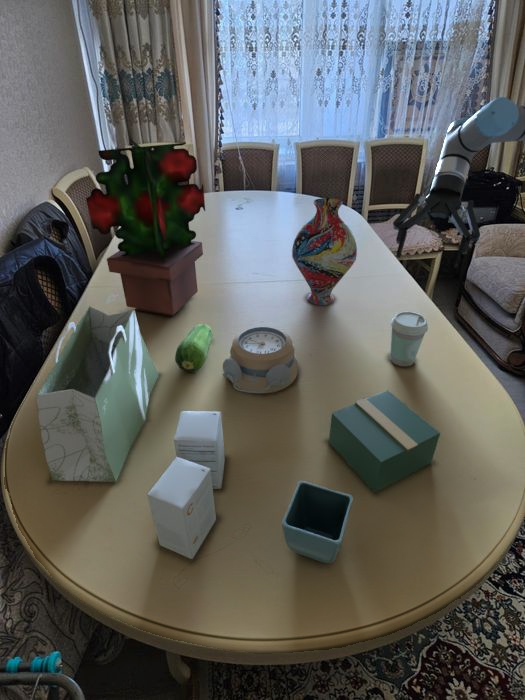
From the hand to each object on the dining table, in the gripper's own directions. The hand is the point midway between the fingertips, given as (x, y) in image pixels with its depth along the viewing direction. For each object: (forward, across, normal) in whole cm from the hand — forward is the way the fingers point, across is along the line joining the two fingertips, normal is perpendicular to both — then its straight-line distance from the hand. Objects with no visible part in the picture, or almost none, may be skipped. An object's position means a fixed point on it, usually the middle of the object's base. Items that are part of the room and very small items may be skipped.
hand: (426, 260), depth 108 cm
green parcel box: (+47, -2, +15) cm, 50 cm away
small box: (+69, +22, +37) cm, 81 cm away
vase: (+8, +30, -24) cm, 39 cm away
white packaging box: (+61, +26, +29) cm, 72 cm away
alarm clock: (+40, +29, +7) cm, 50 cm away
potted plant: (+25, +72, -7) cm, 77 cm away
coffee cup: (+24, 0, -8) cm, 25 cm away
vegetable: (+38, +48, +6) cm, 61 cm away
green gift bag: (+58, +51, +26) cm, 82 cm away
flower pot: (+64, +2, +32) cm, 72 cm away
